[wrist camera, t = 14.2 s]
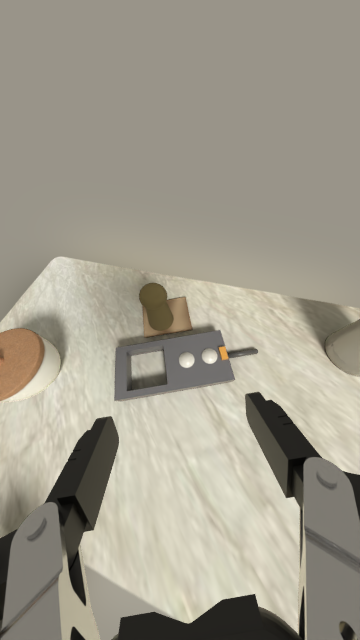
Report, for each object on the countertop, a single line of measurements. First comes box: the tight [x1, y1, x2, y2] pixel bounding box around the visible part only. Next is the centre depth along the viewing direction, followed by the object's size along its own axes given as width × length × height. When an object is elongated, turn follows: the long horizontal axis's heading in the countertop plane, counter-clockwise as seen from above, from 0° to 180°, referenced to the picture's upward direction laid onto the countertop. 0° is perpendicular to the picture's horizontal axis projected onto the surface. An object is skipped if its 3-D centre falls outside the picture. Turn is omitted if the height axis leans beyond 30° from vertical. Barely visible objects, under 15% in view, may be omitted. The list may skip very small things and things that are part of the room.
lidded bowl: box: [0, 328, 61, 403], centre depth 32 cm, size 13×13×11 cm
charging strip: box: [114, 330, 258, 401], centre depth 34 cm, size 29×10×4 cm, turn 99°
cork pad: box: [143, 297, 192, 338], centre depth 41 cm, size 11×9×1 cm
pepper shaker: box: [139, 283, 174, 331], centre depth 35 cm, size 6×6×11 cm
